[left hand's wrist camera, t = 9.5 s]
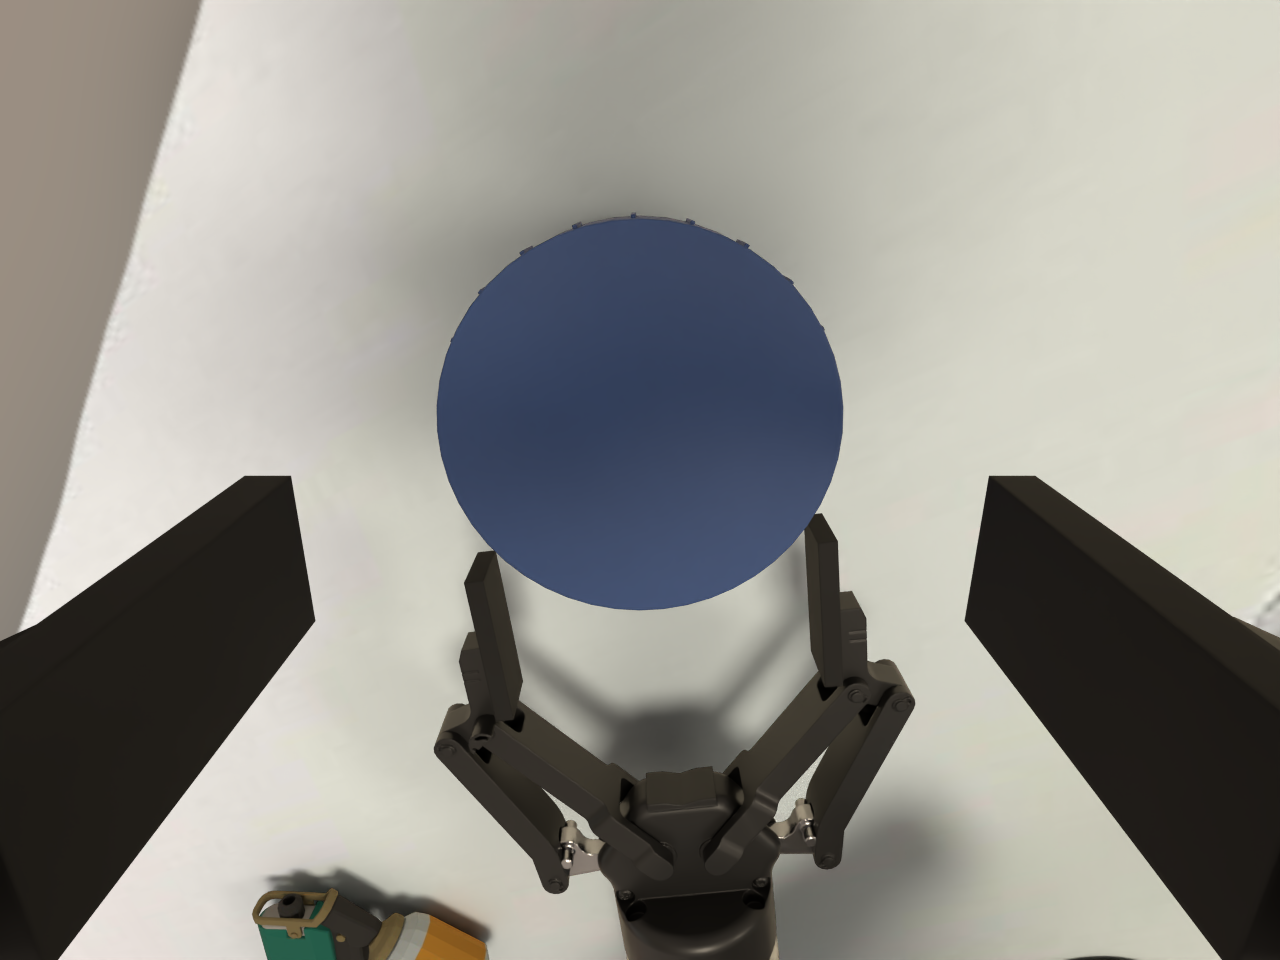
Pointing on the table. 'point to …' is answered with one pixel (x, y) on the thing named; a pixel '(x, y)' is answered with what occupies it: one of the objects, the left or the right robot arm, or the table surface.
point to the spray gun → (355, 932)
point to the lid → (639, 413)
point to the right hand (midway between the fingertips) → (648, 545)
